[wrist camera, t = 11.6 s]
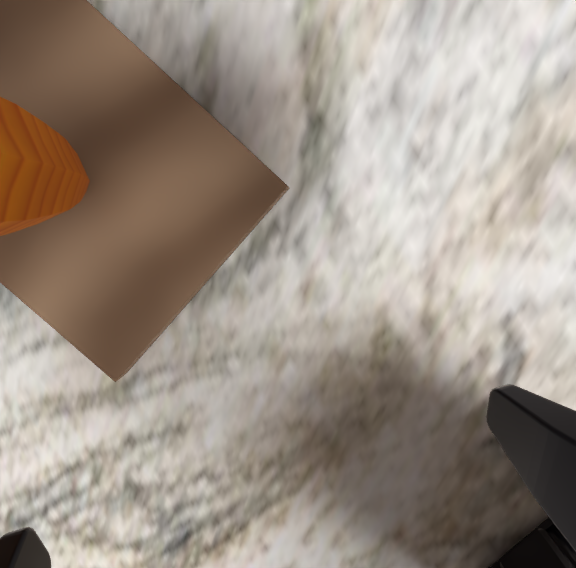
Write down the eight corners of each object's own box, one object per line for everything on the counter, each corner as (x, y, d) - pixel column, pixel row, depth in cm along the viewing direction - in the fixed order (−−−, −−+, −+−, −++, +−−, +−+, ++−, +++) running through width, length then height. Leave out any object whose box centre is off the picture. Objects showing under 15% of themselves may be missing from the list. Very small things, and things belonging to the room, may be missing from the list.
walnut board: (289, 188, 19) (287, 186, 18) (126, 372, 21) (115, 382, 20) (50, -33, 19) (32, -50, 17) (-97, 179, 20) (-122, 176, 19)
